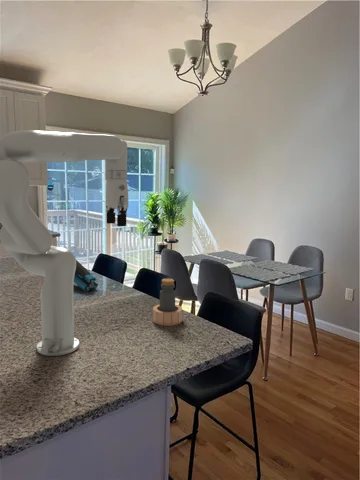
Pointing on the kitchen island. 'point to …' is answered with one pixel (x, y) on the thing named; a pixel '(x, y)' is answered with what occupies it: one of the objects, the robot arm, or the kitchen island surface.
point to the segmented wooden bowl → (167, 316)
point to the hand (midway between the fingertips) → (116, 224)
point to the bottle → (167, 296)
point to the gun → (84, 278)
